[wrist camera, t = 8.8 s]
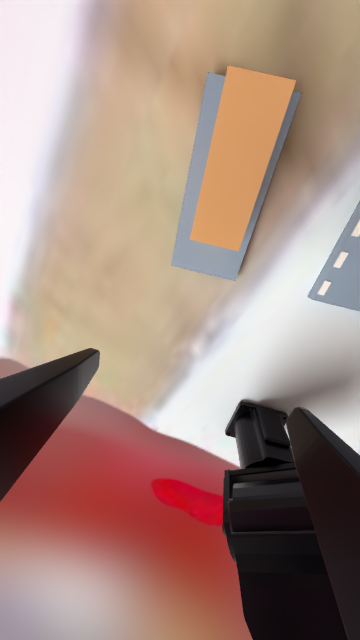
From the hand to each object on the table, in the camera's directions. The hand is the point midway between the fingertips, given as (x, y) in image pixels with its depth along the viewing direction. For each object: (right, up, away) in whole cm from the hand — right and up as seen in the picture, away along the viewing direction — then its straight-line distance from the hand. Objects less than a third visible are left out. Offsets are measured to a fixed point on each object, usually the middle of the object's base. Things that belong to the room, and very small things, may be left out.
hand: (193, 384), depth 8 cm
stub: (+3, +13, +7) cm, 15 cm away
